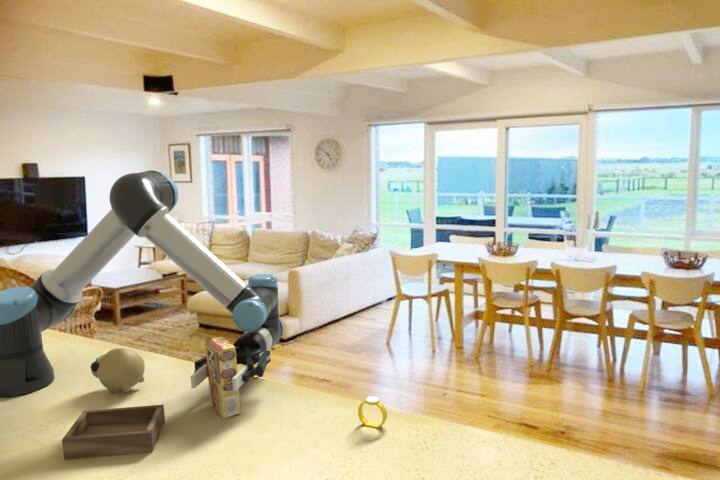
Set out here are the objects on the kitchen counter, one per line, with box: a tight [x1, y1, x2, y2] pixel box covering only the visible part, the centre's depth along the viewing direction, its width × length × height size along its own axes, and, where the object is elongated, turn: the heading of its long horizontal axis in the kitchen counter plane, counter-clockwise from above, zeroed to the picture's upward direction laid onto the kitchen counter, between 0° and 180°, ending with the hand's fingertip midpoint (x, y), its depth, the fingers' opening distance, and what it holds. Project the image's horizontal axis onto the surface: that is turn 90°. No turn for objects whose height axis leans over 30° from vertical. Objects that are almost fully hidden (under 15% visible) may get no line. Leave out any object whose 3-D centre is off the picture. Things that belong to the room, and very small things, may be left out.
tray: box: [61, 404, 166, 461], centre depth 116 cm, size 12×16×4 cm
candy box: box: [204, 336, 241, 419], centre depth 127 cm, size 9×4×15 cm, turn 33°
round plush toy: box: [90, 347, 146, 395], centre depth 139 cm, size 10×12×11 cm
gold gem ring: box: [357, 395, 388, 429], centre depth 119 cm, size 6×3×6 cm, turn 64°
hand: (213, 383), depth 122 cm, fingers closed on candy box, 9 cm apart
